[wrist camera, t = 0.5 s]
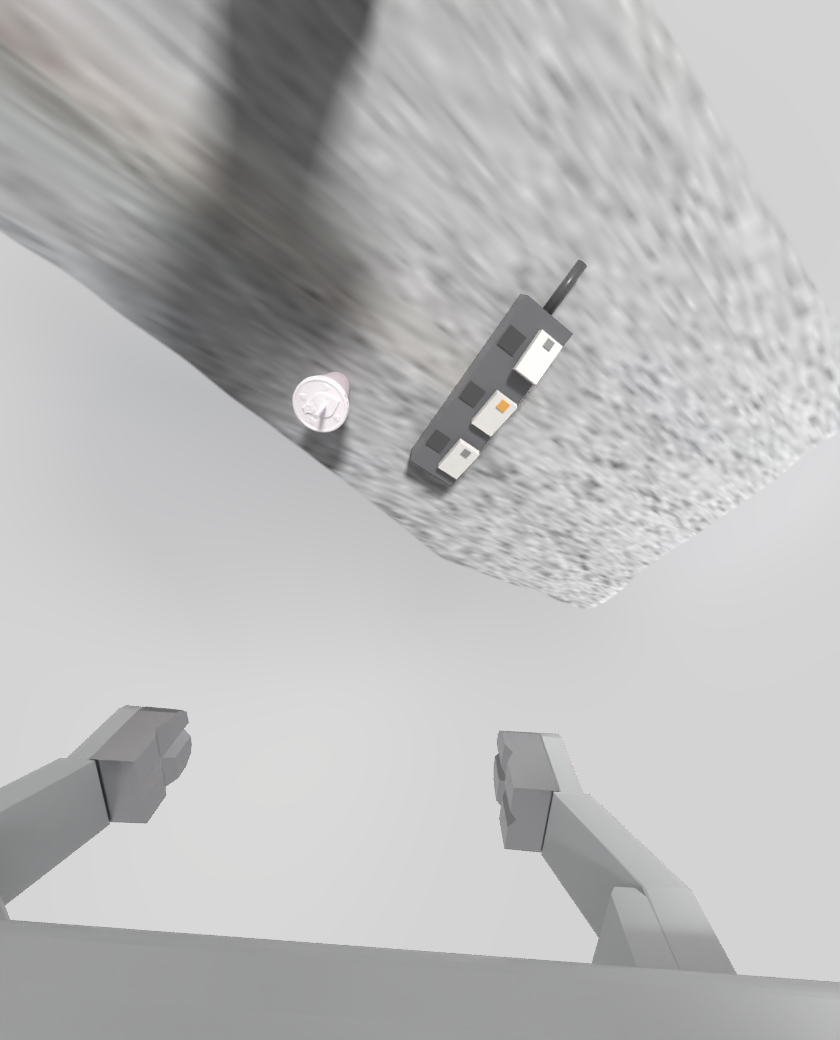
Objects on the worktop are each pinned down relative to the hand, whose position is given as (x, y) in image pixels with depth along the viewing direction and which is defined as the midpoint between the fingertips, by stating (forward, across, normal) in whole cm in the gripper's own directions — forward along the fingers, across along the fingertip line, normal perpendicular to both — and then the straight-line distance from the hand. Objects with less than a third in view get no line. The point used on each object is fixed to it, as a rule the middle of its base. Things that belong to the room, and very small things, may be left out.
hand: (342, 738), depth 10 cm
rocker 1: (+46, -6, -2) cm, 46 cm away
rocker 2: (+44, -10, -9) cm, 46 cm away
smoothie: (+47, +11, -11) cm, 50 cm away
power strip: (+47, -10, -13) cm, 50 cm away
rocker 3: (+42, -14, -15) cm, 47 cm away
